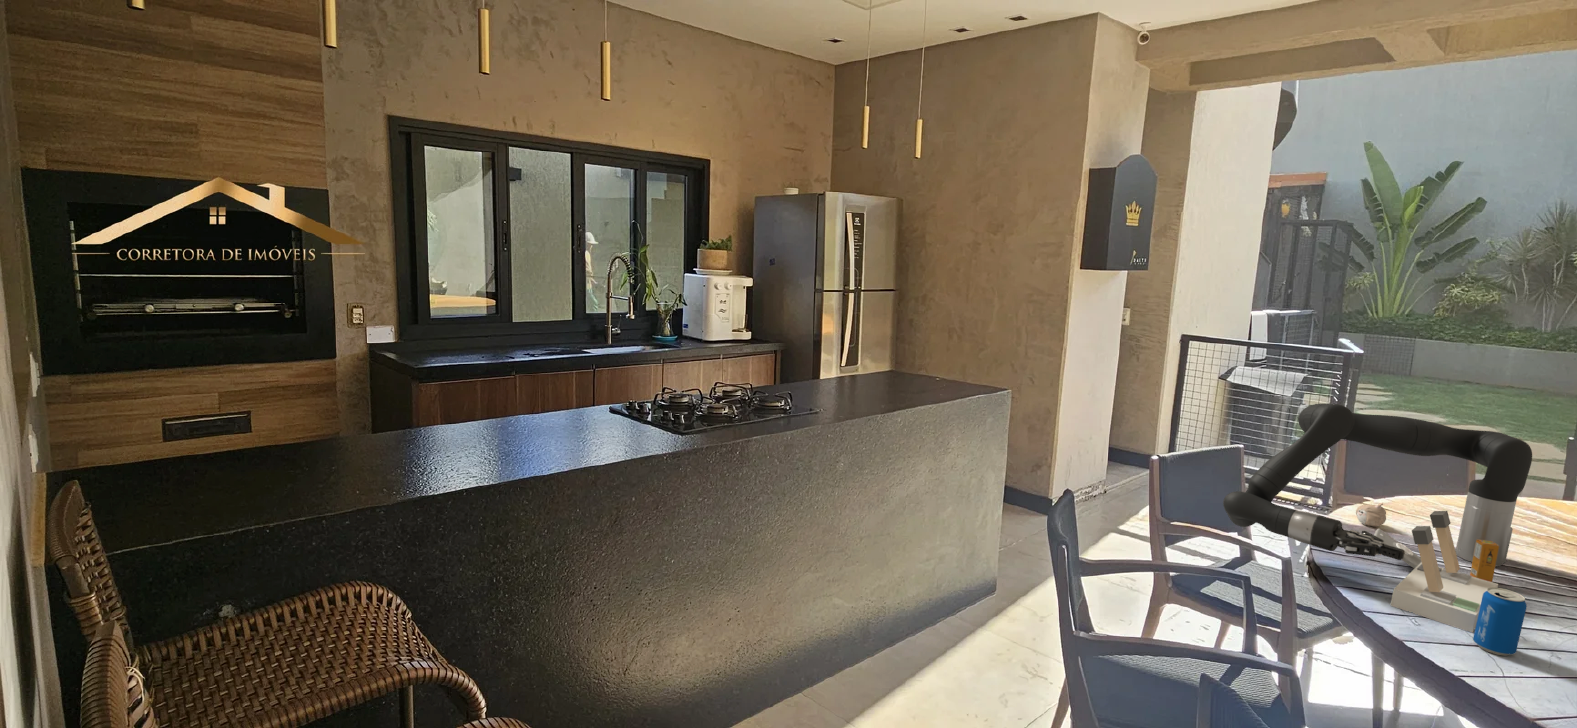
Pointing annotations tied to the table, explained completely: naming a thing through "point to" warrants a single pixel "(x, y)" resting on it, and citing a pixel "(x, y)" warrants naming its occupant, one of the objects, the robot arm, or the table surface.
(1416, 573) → the switch unit
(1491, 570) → the supplement box
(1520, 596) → the beverage can
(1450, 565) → the lever charcoal
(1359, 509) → the brown hamster figurine
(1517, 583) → the table surface
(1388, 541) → the light switch
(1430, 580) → the tan lever
